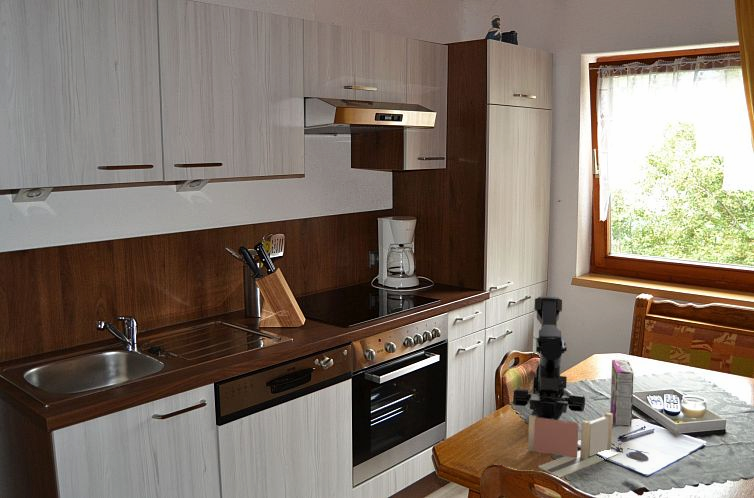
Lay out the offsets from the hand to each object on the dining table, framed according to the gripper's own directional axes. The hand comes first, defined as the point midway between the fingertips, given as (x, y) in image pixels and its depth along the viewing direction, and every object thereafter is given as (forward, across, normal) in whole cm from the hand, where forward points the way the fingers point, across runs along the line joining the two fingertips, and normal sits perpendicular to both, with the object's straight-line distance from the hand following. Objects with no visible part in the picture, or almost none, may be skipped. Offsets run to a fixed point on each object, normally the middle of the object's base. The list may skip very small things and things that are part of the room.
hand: (547, 430), depth 186 cm
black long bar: (-40, -1, +51) cm, 65 cm away
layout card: (+6, +8, +2) cm, 11 cm away
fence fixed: (+3, +13, +5) cm, 14 cm away
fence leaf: (+5, +2, +3) cm, 6 cm away
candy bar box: (-14, +21, +24) cm, 35 cm away
